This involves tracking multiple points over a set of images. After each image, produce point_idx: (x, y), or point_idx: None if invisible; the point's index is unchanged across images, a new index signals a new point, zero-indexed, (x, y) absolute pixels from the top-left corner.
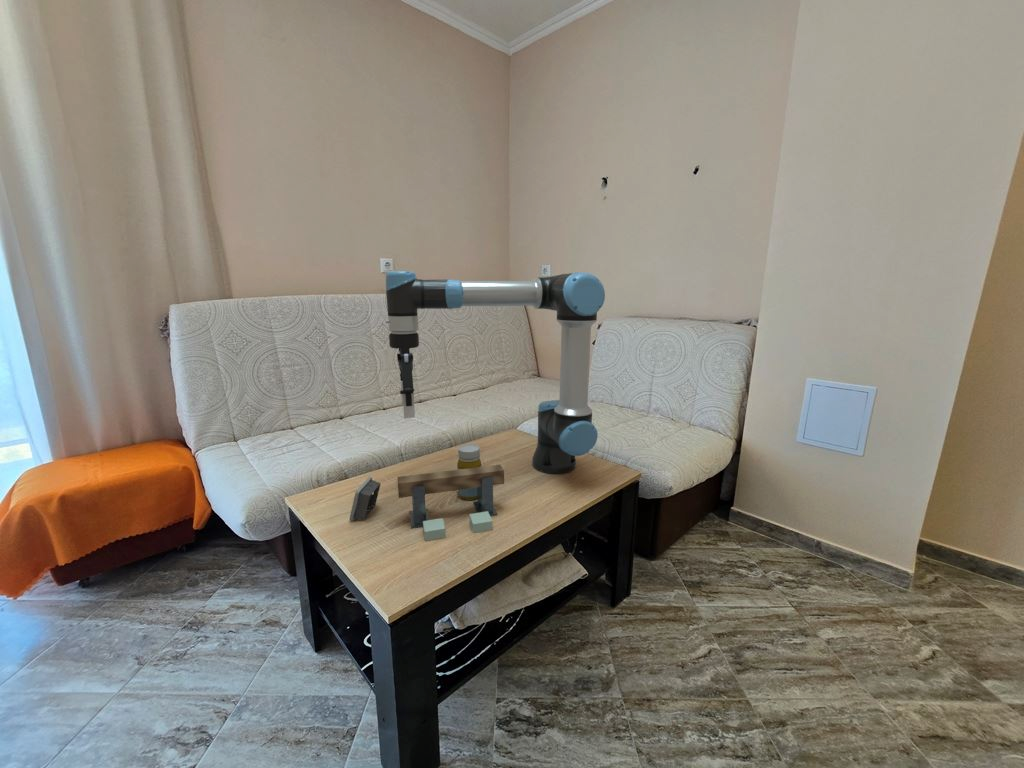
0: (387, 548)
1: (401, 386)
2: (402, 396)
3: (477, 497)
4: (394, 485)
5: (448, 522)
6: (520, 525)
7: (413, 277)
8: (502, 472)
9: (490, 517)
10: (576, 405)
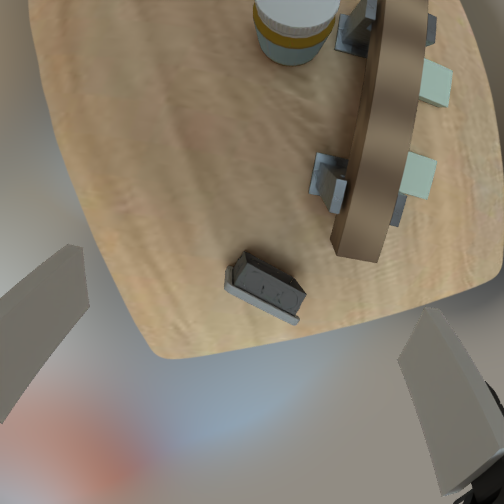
0: (402, 256)
1: (18, 394)
2: (59, 336)
3: (348, 40)
4: (159, 195)
5: None
6: (447, 25)
7: None
8: None
9: (440, 65)
10: None
